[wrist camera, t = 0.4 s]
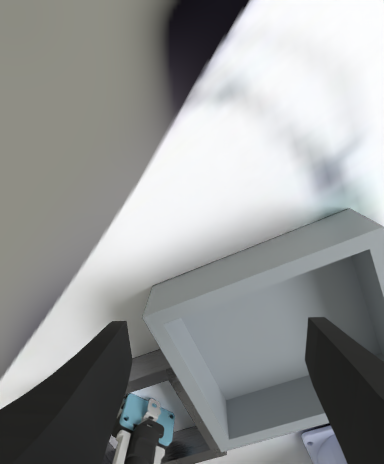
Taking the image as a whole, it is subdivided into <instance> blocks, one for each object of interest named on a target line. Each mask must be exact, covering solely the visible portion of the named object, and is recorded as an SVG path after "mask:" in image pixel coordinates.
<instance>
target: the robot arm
mask: <svg viewBox="0 0 384 464" xmlns="http://www.w3.org/2000/svg"><path fill="white" fill-rule="evenodd" d="M305 363H306V366H307V369H308V373H309V376H310V379H311V382H312V385H313V387H314V390H315V392H316V394H317V396H318V399H319V401H320V403H321V405H322V407H323V410H324V412H325V414H326V416H327V418H328V421H329V423H330V426H326V427H323V428H319V429H315V430H312V431H308V432H305V433H303V434H302V436H301V437H302V440H303V443H304V445H305V447H306V449H307V451H308V453H309V456H310V458H311V460H312V462H313V464H384V361H382V360H381V359H379V358H378V357H377V356H375V355H374V354H372V353H371V352H370V351H368V350H367V349H366V348H364V347H363V346H362V345H360V344H359V343H358V342H356V341H355V340H354V339H352V338H351V337H350V336H348V335H347V334H346V333H345V332H343V331H342V330H341V329H339V328H338V327H337V326H336V325H334V324H333V323H332V322H330V321H329V320H328V319H326V318H325V317H308V326H307V338H306V350H305ZM131 367H132V355H131V348H130V342H129V335H128V328H127V322H126V321H112V322H111V323H109V324H108V325H107V326H106V327H105V328H104V329H103V330H102V331H101V332H100V333H99V334H98V335H97V336H96V337H94V338H93V339H92V340H91V341H90V342H89V343H88V344H87V345H86V346H85V347H84V348H83V349H81V350H80V351H79V352H78V353H77V354H76V355H75V356H74V357H72V358H71V359H70V360H69V361H68V362H66V363H65V364H64V365H63V366H62V367H60V368H59V369H58V370H57V371H56V372H54V373H53V374H52V375H51V376H49V377H48V378H47V379H45V380H44V381H43V382H41V383H40V384H39V385H37V386H36V387H34V388H33V389H32V390H30V391H29V392H27V393H26V394H24V395H23V396H21V397H20V398H18V399H16V400H15V401H13V402H12V403H10V404H8V405H7V406H5V407H4V408H2V409H1V410H0V464H102V462H103V458H104V455H105V452H106V448H107V445H108V442H109V439H110V436H111V433H112V431H113V428H114V425H115V422H116V419H117V416H118V413H119V410H120V407H121V404H122V401H123V398H124V395H125V392H126V389H127V386H128V382H129V377H130V372H131Z"/></svg>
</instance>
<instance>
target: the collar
mask: <svg viewBox="0 0 384 464" xmlns="http://www.w3.org/2000/svg"><path fill="white" fill-rule="evenodd" d="M167 380H169V381H170V383H171V385H172V386H173V388H174V390H175V391H176V393H177V395H178V396H179V398H180V400H181V401H182V403H183V405H184V406H185V408H186V410H187V411H188V413H189V415H190V416H191V418H192V420H193V421H194V423H195V425H196V426H195V427H191V428H188V429H184V430H181V431H178V432H174V433H173V438H172V442H171V443H170V444H169V445H168V446H167V448H166V449H165V454H164V456H163V458H162V459H161V464H195V463H199V462H202V461H206V460H210V459H213V458H217V457H221V456H224V455H227V451H224V452H221V450H220V449H219V447H218V445H217V443H216V442H215V440H214V438H213V437H212V435H211V433H210V432H209V430H208V428H207V427H206V425H205V423H204V421H203V420H202V418H201V416H200V415H199V413H198V411H197V410H196V408H195V406H194V405H193V403H192V401H191V399H190V398H189V396H188V394H187V393H186V391H185V389H184V388H183V386H182V384H181V382H180V381H179V379H178V377H177V376H176V374H175V372H174V371H173V369H172V367H171V366H170V364H169V362H168V360H167V359H166V357H165V355H164V354H163V352H162V350H161V349H159V350H156V351H154V352H151V353H148V354H145V355H142V356H139V357H136V358H134V359H132V367H131V372H130V377H129V382H128V386H127V389H126V392H125V394H128V393H131V392H134V391H137V390H140V389H143V388H146V387H149V386H152V385H155V384H158V383H161V382H164V381H167ZM115 453H116V450H115V449H114V448H113V446H112V445H111V444H110V442H108V445H107V448H106V452H105V455H104V458H103V462H102V464H112V463H113V460H114V456H115Z"/></svg>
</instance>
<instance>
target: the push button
mask: <svg viewBox="0 0 384 464" xmlns="http://www.w3.org/2000/svg"><path fill="white" fill-rule="evenodd" d="M152 403H154V404H152ZM174 420H175V416H174V414H173V413H172V412H170V411H167V410H165V409H163V408H161V407H160V403H159V402H158V401H156V400H154V399H152V398H151V399H149V402H148V401H146V400H144V399H142V398H140V397H138V396H136V395H134V394H129V395H128V397H127V398H126V399H125V400H124V399H123V401H122V404H121V407H120V410H119V413H118V416H117V419H116V422H115V425H114V428H113V431H112V433H111V434H112V436H113V437H115V438H116V441H118V445H117V449H116V453H115V456H114V460H113V463H112V464H161V459H162V458H163V456H164V454H165V449H166V448H167V446H168V445H169V444H170V443H171V442H172V438H173V428H174Z"/></svg>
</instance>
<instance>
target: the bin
mask: <svg viewBox="0 0 384 464" xmlns="http://www.w3.org/2000/svg"><path fill="white" fill-rule="evenodd" d="M308 317H325V318H326V319H328V320H329V321H330V322H332V323H333V324H334V325H336V326H337V327H338V328H339V329H341V330H342V331H343V332H345V333H346V334H347V335H348V336H350V337H351V338H352V339H354V340H355V341H356V342H358V343H359V344H360V345H362V346H363V347H364V348H366V349H367V350H368V351H370V352H371V353H372V354H374V355H375V356H377V357H378V358H379V359H381V360H382V361H384V227H383V226H382V225H380V224H378V223H376V222H374V221H372V220H371V219H369V218H367V217H365V216H363V215H361V214H359V213H358V212H356V211H354V210H352V209H350V208H349V209H347V210H344V211H342V212H339V213H337V214H334V215H332V216H329V217H326V218H324V219H321V220H319V221H316V222H314V223H311V224H309V225H306V226H304V227H301V228H299V229H296V230H294V231H291V232H288V233H286V234H283V235H281V236H278V237H276V238H273V239H271V240H268V241H266V242H263V243H261V244H258V245H255V246H253V247H250V248H248V249H245V250H243V251H240V252H238V253H235V254H233V255H230V256H228V257H225V258H222V259H220V260H217V261H215V262H212V263H210V264H207V265H205V266H202V267H200V268H197V269H195V270H192V271H189V272H187V273H184V274H182V275H179V276H177V277H174V278H172V279H169V280H167V281H164V282H162V283H159V284H157V285H154V286H153V287H152V290H151V293H150V296H149V299H148V302H147V305H146V308H145V311H144V314H143V317H142V318H143V320H144V321H145V323H146V325H147V327H148V328H149V330H150V332H151V333H152V335H153V337H154V338H155V340H156V342H157V343H158V345H159V347H160V349H161V350H162V352H163V354H164V355H165V357H166V359H167V360H168V362H169V364H170V366H171V367H172V369H173V371H174V372H175V374H176V376H177V377H178V379H179V381H180V382H181V384H182V386H183V388H184V389H185V391H186V393H187V394H188V396H189V398H190V399H191V401H192V403H193V405H194V406H195V408H196V410H197V411H198V413H199V415H200V416H201V418H202V420H203V421H204V423H205V425H206V427H207V428H208V430H209V432H210V433H211V435H212V437H213V438H214V440H215V442H216V443H217V445H218V447H219V449H220V450H221V452H224V451H228V450H231V449H235V448H239V447H242V446H246V445H250V444H253V443H257V442H261V441H264V440H268V439H272V438H275V437H279V436H283V435H286V434H290V433H294V432H297V431H301V430H305V429H308V428H312V427H316V426H319V425H323V424H327V423H329V421H328V418H327V416H326V414H325V412H324V410H323V407H322V405H321V403H320V401H319V399H318V396H317V394H316V392H315V390H314V387H313V385H312V382H311V379H310V376H309V373H308V369H307V366H306V363H305V350H306V338H307V326H308Z"/></svg>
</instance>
